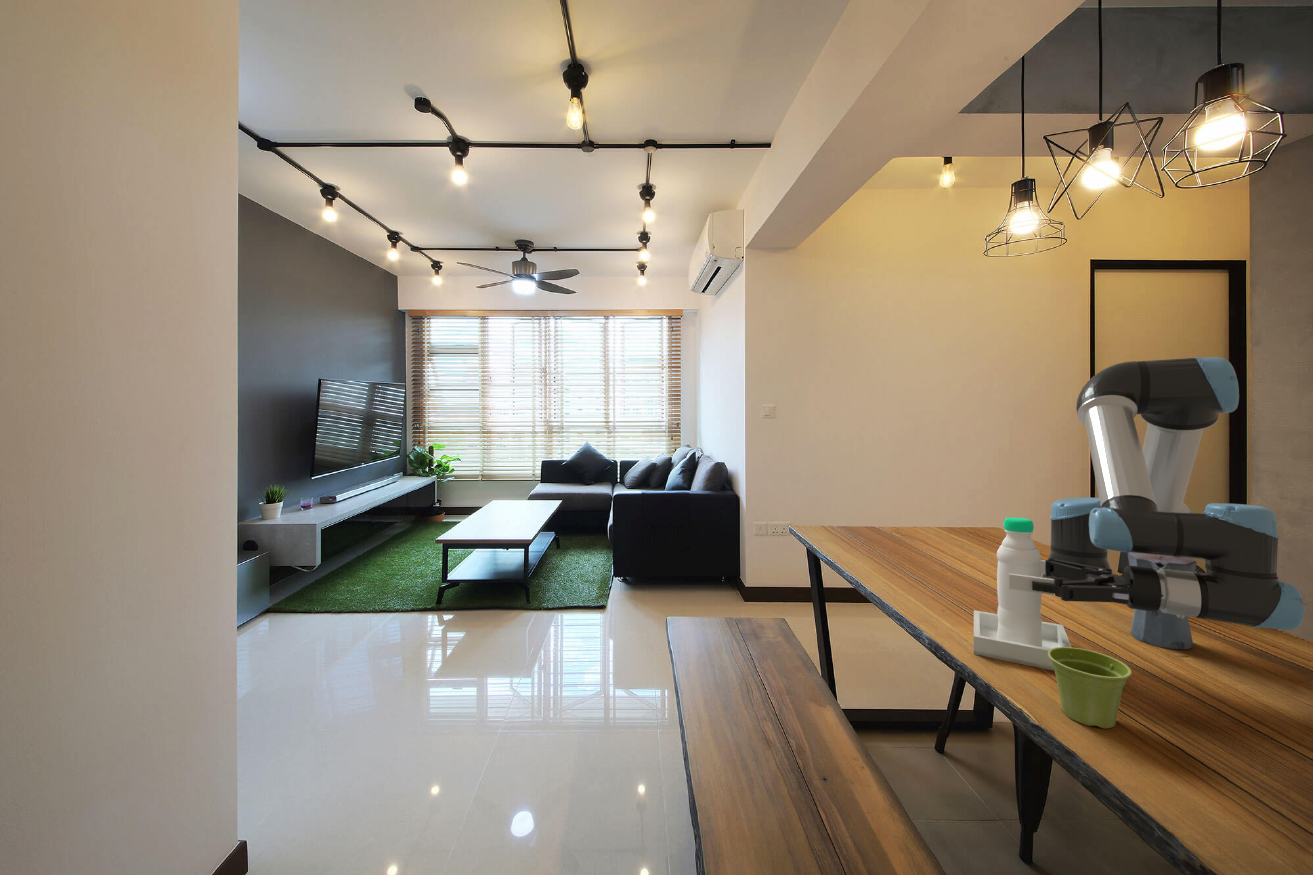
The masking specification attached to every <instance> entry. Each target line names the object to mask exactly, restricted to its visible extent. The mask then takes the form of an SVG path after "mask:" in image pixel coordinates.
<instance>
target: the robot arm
mask: <svg viewBox="0 0 1313 875" xmlns="http://www.w3.org/2000/svg"><path fill="white" fill-rule="evenodd" d="M1239 389H1240V387H1239V381H1238V378H1237V373H1236V371H1235V369H1234V366H1233V365H1232V363H1231V362H1230V361H1229V360H1227V359H1226V358H1223V357H1221V356H1218V357H1217V356H1208V357H1206V356H1205V357H1202V356H1201V357H1199V356H1194V357H1192V358H1191V357H1188V358H1187V357H1186V358H1171V359H1169V358H1167V359H1155V360H1153V359H1152V360H1141V361H1137V360H1136V361H1135V360H1133V361H1125V362H1119V363H1116V364H1113V365H1111V366H1109V367H1106V368H1103V369H1102V370H1100V371H1099V372H1098V373H1096V374H1095V375H1093V376H1092V377H1091V378H1090V379H1089V380H1088V381H1087V382H1086V383H1085V384H1084V386H1083V387H1082V389H1081V390H1080V393H1079V394H1078V397H1077V399H1076V407H1075V408H1076V413H1077V419H1078V420H1079V422H1080V423H1081V424H1083V425H1085V430H1086V435H1087V440H1088V445H1089V451H1090V457H1091V462H1092V467H1093V472H1094V477H1095V481H1096V482H1095V483H1096V488H1097V493H1098V497H1091V496H1090V497H1082V496H1081V497H1067V498H1061V499H1058V500H1055V501H1054V502H1052V504H1051V506H1050V507H1051V508H1050V516H1049V520H1050V552H1049V554H1048V557H1047V559H1045V560H1044V559H1041V564H1040V569H1041V577H1034V576H1026V575H1018V574H1010V573H1009V589H1015V590H1022V591H1029V592H1036V593H1042V594H1044V595H1051V596H1055V597H1057V598H1060V599H1061V601H1064V602H1080V603H1081V602H1085V603H1086V602H1087V603H1088V602H1089V603H1091V602H1092V603H1115V604H1122V605H1123V604H1124V605H1126V606H1127V607H1128V608H1129V609H1131V610H1135V609H1137V610H1144V611H1151V612H1156V611H1158V610H1161V611H1162V612H1163V613H1167V614H1174V615H1177V617H1178V618H1181V619H1183V618H1184V617H1185V616H1188V618H1189V617H1191V618H1197V619H1204V620H1210V621H1215V622H1216V621H1217V622H1224V623H1230V624H1237V625H1243V626H1250V627H1252V628H1262V629H1263V628H1265V629H1273V630H1282V631H1283V630H1284V631H1285V630H1286V631H1292V630H1295V629H1298V628H1299V627H1300V626H1301V625H1302V624H1303V622H1304V619H1305V616H1306V615H1305V614H1306V613H1305V612H1306V610H1305V605H1304V603H1303V595H1302V593H1301V592H1300V590H1299V589H1298V588H1297V587H1296V586H1295V585H1294V584H1292V583H1289V582H1285V581H1281V580H1279V576H1278V548H1279V547H1278V545H1279V537H1280V536H1279V535H1278V523H1277V522H1278V521H1277V518H1276V513H1275V512H1274V511H1273V510H1272V509H1270V508H1269V507H1265V506H1261V505H1254V504H1245V503H1244V504H1242V503H1228V502H1227V503H1225V502H1224V503H1221V502H1220V503H1219V502H1211V503H1208V504H1206V505H1205V508H1204V511H1203V513H1194V512H1193V511H1192V510H1190V508H1189V507H1188V505H1187V504H1186V503H1184V499H1185V496H1186V494H1187V489H1188V486H1189V482H1190V479H1191V476H1192V471H1193V468H1194V464H1195V462H1196V457H1197V455H1198V451H1199V448H1200V444H1201V441H1202V437H1203V433H1204V430H1205V429H1209V428H1211V427H1214V425H1215V424H1216V423H1217V422H1218V419H1219V416H1220V414H1225V415H1226V414H1229V413H1233V412H1235V411H1236V410H1237V409H1238V406H1239V401H1240V393H1239V392H1240V390H1239ZM1137 415H1140V418H1141V419H1142V421H1144V422H1145V423H1147V427H1146V432H1145V436H1144V440H1143V446H1142V445H1141V442H1140V438H1139V434H1138V431H1137V427H1136V423H1135V419H1134V418H1135V417H1136V416H1137ZM1108 550H1109V551H1115V552H1121V553H1125V554H1128V553H1129V552H1134V553H1145V554H1157V555H1168V556H1177V557H1186V558H1191V559H1196V560H1205V563H1204V564H1205V569H1206V572H1205V573H1204V572H1195V573H1194V572H1189V571H1179V570H1170V569H1161V568H1160V569H1159V570H1158V571H1157V572H1156V570H1154V569H1153V568H1149V567H1140V566H1130V565H1129V564H1128V565H1126V566H1125V567H1124V569H1123V571H1122V572H1123V574H1121V575H1118V574H1115V573H1114V572H1113V569H1112V568H1111V565H1110V563H1109V560H1108V552H1109V551H1108Z"/></svg>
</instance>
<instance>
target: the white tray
mask: <svg viewBox="0 0 1313 875" xmlns="http://www.w3.org/2000/svg"><path fill="white" fill-rule="evenodd" d="M1041 634H1042V647H1038V646H1033V645H1028V644H1023V643H1017V642H1012V641H1007V640H1001V639H998V614H997V613H993V612H986V611H980V610H973V655H977V656H980V657H986V658H992V659H995V660H1001V661H1004V662H1009V663H1015V664H1021V665H1026V666H1029V667H1035V668H1038V669H1044V670H1048V671H1049V670H1050V671H1053V672H1055V669H1054V667H1053V666H1052V661H1051V659H1050V658H1049V657H1048V651H1049V650H1050V649H1052V648H1056V647H1073V646H1072V643H1071V642H1070V639H1069V637H1068V635H1067V632H1066V630H1065V628H1064V625H1063V624H1059V623H1053V622H1048V621H1047V622H1046V621H1042V626H1041Z"/></svg>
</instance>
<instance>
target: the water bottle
mask: <svg viewBox="0 0 1313 875" xmlns="http://www.w3.org/2000/svg"><path fill="white" fill-rule="evenodd" d="M1034 528H1035V526H1034V521H1033V520H1032V519H1030V518H1029V519H1028V518H1024V517H1006V518H1005V519H1004V520H1003V529H1004V532H1005V534H1006V536H1005V537H1004V539H1003V540H1002V542H1001V545H999V548H998V549H997V551H996V558H997V569H996V570H997V571H996V572H997V573H996V579H997V580H996V581H997V582H996V585H997V586H996V588H997V589H996V590H997V592H996V593H997V601H998V606H997V613H996V614H998V639H1001V640H1007V641H1012V642H1017V643H1023V644H1028V645H1033V646H1038V647H1042V634H1041V626H1042V622H1043V619H1042V618H1043V616H1042V613H1041V609H1042V608H1041V607H1042V594H1043V593H1036V592H1029V591H1022V590H1015V589H1009V573H1010V574H1018V575H1026V576H1034V577H1042V574H1041V569H1040V564H1041V560H1042V556H1041V553H1040V551H1039V549H1038V548H1037V547H1036V544H1035V542H1034V541H1033V540H1032V536H1031V535H1033V532H1034V530H1035V529H1034Z"/></svg>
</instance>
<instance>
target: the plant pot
mask: <svg viewBox="0 0 1313 875" xmlns="http://www.w3.org/2000/svg"><path fill="white" fill-rule="evenodd" d="M1048 657H1049V658H1050V659H1051V661H1052V666H1053V667H1054V669H1055V671H1054V673H1055V679H1056V683H1057V688H1058V695H1059V700H1060V707H1061V709H1062V711H1063V713H1064V714H1065V715H1066V716H1067V717H1068V718H1070V719H1071V720H1073V721H1075V722H1076V723H1080V724H1081V725H1084V726H1088V727H1091V726H1094V727H1096V726H1097V727H1099V728H1101V729H1112V728H1113V727H1115V726H1116V724H1117V718H1118V714H1119V709H1120V702H1121V699H1122V694H1123V688H1124V686H1125V685H1126V684H1127V682H1128V681H1127V680H1128V679H1129V678H1130V677H1131V676H1132V669H1131V668H1130V667H1129V666H1128V665H1127V664H1126V663H1123V662H1122V661H1121V660H1119V659H1116V658H1115V657H1112V656H1110V655H1108V654H1104V653H1100V652H1098V651H1095V650H1094V651H1093V650H1090V649H1086V648H1080V647H1073V646H1072V647H1056V648H1052V649H1050V650H1049V651H1048Z"/></svg>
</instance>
